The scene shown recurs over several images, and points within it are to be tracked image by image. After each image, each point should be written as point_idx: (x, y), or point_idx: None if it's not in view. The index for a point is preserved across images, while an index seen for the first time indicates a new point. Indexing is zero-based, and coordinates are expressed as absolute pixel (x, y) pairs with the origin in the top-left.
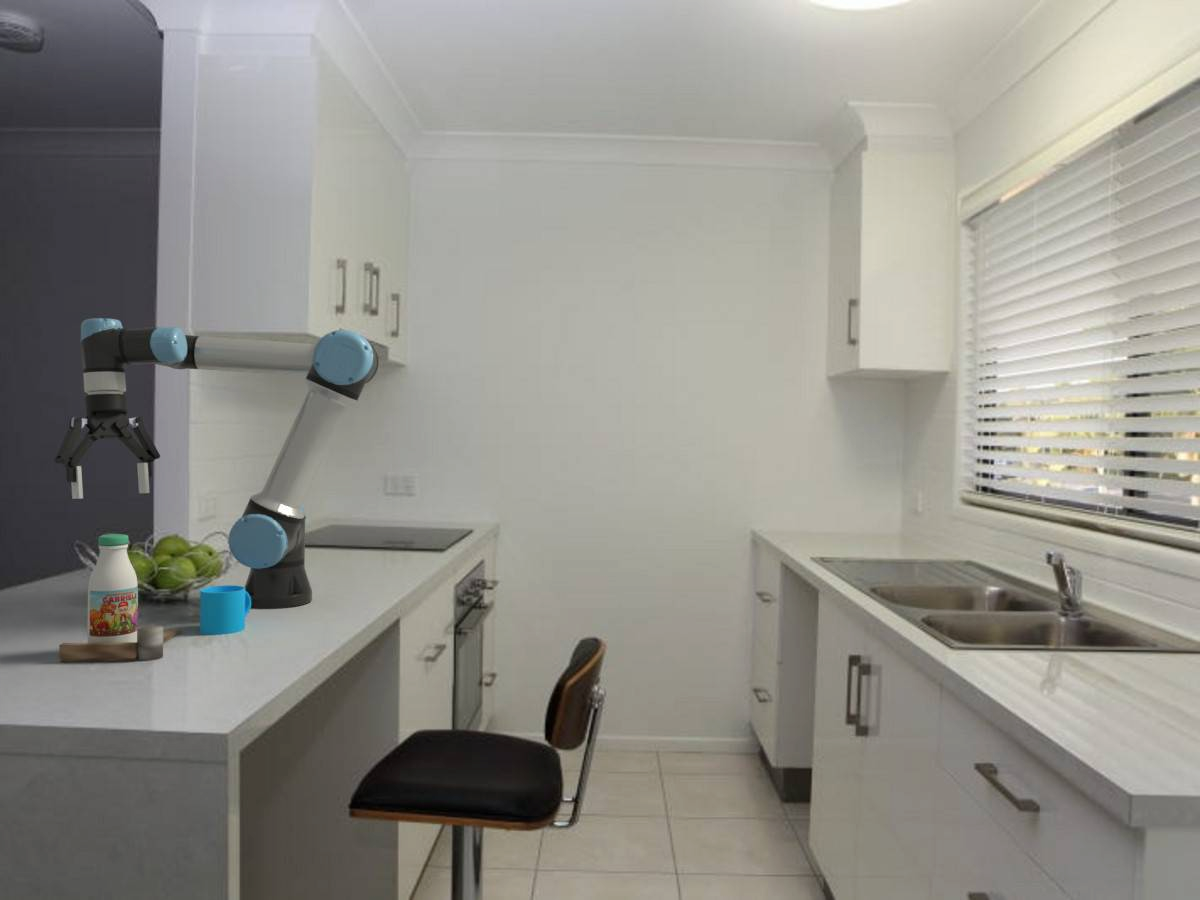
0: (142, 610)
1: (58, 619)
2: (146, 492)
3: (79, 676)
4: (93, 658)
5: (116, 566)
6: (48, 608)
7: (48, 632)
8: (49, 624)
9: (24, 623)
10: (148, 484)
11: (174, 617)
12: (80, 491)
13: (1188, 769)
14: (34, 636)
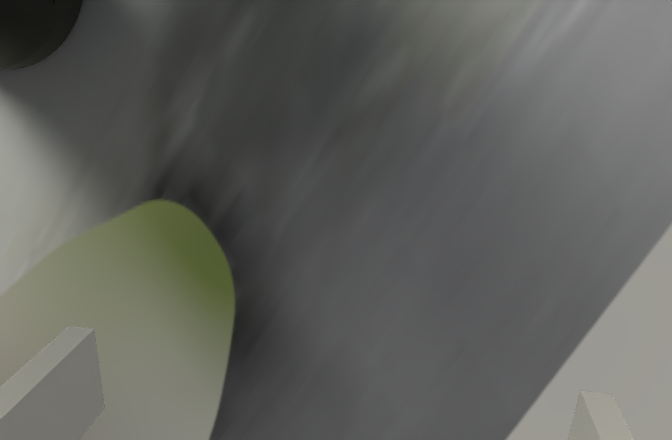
0: (290, 197)
1: (483, 283)
2: (89, 330)
3: None
4: None
5: None
6: (412, 420)
7: (605, 157)
8: (536, 247)
9: (560, 313)
10: (29, 365)
11: (293, 31)
12: (618, 432)
13: None
14: (658, 142)
